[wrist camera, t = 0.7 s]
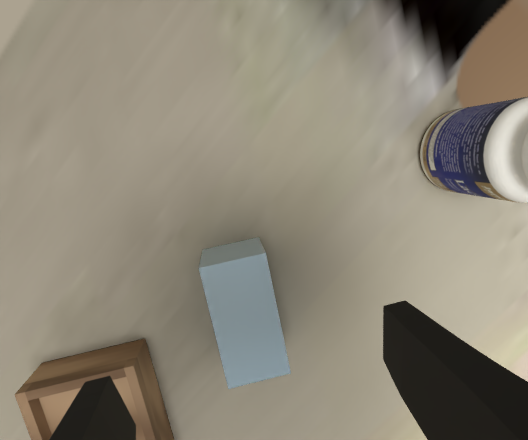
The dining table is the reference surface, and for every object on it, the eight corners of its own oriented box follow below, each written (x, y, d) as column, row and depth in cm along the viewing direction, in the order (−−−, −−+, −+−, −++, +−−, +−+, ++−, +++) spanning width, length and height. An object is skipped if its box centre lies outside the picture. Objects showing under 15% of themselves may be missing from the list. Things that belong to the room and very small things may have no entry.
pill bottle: (416, 194, 27) (526, 216, 17) (416, 112, 26) (534, 86, 16) (490, 188, 27) (638, 206, 18) (494, 107, 26) (653, 80, 17)
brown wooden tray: (182, 470, 29) (177, 512, 25) (88, 495, 28) (69, 542, 25) (145, 338, 26) (133, 365, 23) (42, 362, 26) (14, 394, 23)
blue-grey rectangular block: (280, 338, 28) (290, 373, 23) (227, 351, 28) (228, 389, 23) (258, 236, 26) (265, 252, 22) (202, 249, 26) (198, 268, 22)
